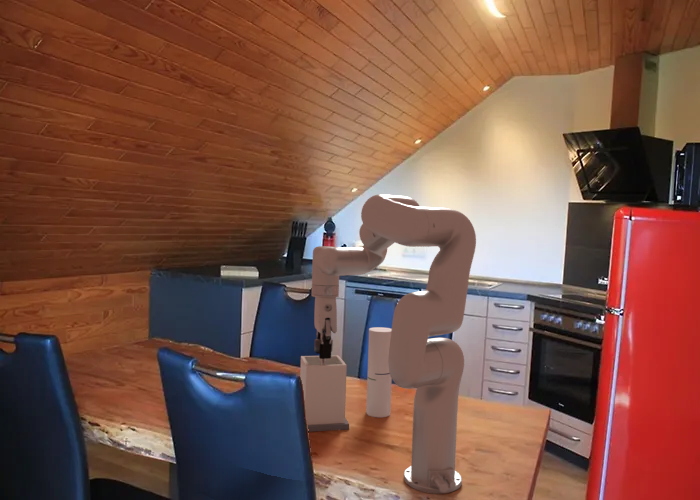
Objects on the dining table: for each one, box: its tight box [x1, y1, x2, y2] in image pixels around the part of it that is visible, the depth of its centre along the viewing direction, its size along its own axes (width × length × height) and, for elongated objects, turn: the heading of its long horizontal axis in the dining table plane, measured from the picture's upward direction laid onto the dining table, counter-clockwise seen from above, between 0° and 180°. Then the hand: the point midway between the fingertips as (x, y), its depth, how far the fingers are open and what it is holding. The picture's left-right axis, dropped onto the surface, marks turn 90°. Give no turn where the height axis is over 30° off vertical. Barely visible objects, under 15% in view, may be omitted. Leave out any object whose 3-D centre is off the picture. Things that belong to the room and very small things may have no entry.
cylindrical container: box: [365, 326, 393, 418], centre depth 166 cm, size 7×7×25 cm
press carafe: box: [299, 354, 350, 432], centre depth 158 cm, size 13×13×18 cm
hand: (323, 355), depth 157 cm, fingers closed on plunger, 5 cm apart
